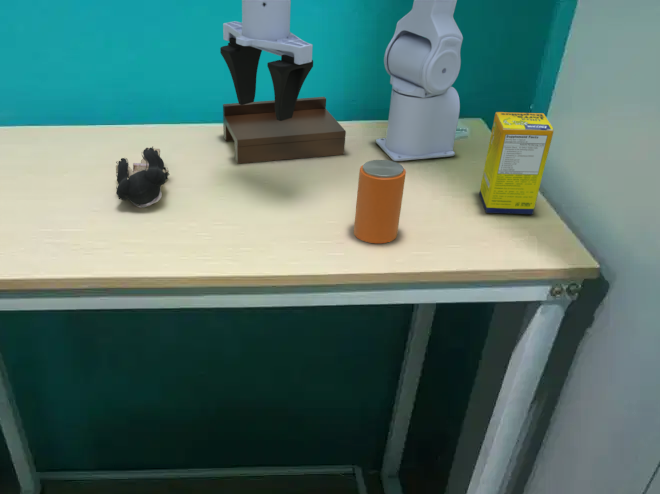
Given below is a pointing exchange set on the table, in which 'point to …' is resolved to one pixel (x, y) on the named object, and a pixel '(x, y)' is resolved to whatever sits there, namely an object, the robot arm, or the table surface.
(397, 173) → the can
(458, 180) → the table surface
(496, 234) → the table surface
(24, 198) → the table surface
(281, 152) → the shelf
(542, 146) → the supplement box
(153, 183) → the toy figure
